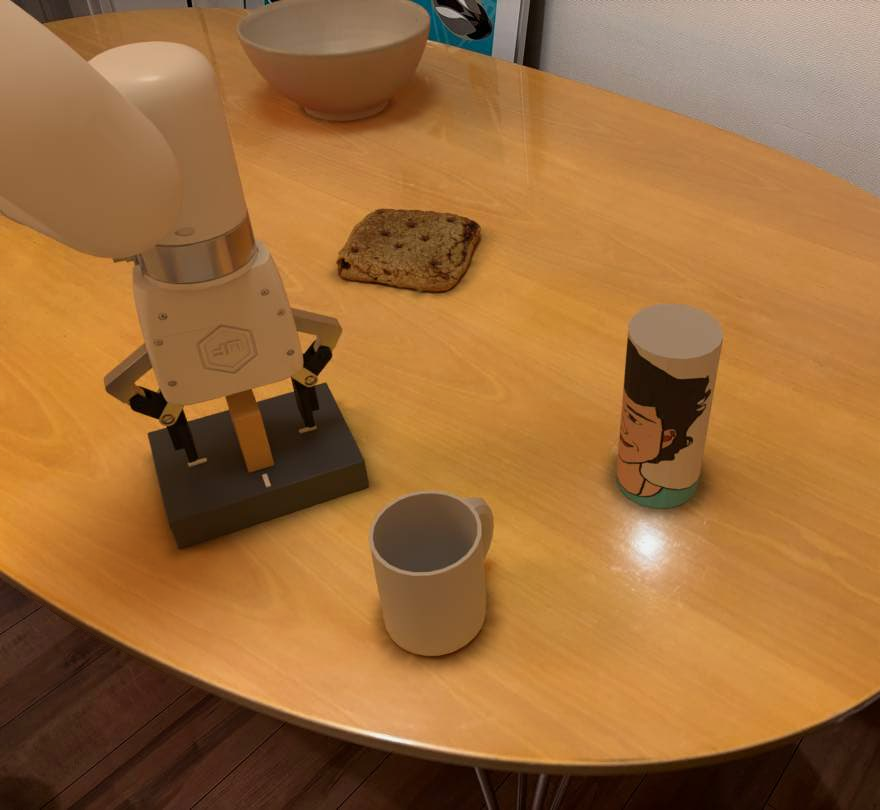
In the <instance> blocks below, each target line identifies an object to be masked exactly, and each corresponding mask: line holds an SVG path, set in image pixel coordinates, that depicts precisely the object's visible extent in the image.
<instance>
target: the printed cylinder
mask: <svg viewBox="0 0 880 810" xmlns="http://www.w3.org/2000/svg"><path fill="white" fill-rule="evenodd" d="M629 320H630V321H629V322H628V328H627V339H626V340H627V341H626V350H625V352H626V353H625V365H624V375H623V376H624V377H623V387H622V388H623V389H622V401H621V413H620V424H619V425H620V426H619V437H618V448H617V449H618V450H617V462H616V473H615V474H616V477H615V480H616V484H617V486H618V488H619V490H620V492H622V494H623V495H624V496H625V497H626V498H627V499H629V500H630V501H632V502H634V503H635V504H637V505H639V506H643V507H647V508H649V509H663V510H665V509H666V510H667V509H671V508H677V507H679V506H681V505H684V504H685V503H687V502H689V501H690V500H691V498H693V496H694V495H695V494H696V492H697V489H698V488H699V487H698V486H699V482H700V476H701V470H702V465H703V457H704V453H705V447H706V443H707V442H706V441H707V436H708V430H709V423H710V417H711V412H712V405H713V400H714V393H715V389H716V383H717V378H718V377H717V376H718V372H719V371H718V370H719V365H720V359H721V353H722V346H723V341H724V331H723V327H722V326H721V323H720V322H719V321H718V320H717V318H715V317H714V316H712V315H711V314H710V313H709V312H707V311H705V310H703V309H700V308H698V307H696V306H691V305H687V304H683V303H668V302H666V303H660V304H659V303H658V304H652V305H650V306H646V307H645V308H642V309H640V310H639V311H638V312H636V313H634V314H633V315H632V317H631V319H629Z"/></svg>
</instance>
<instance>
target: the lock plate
mask: <svg viewBox="0 0 880 810" xmlns="http://www.w3.org/2000/svg"><path fill="white" fill-rule="evenodd" d="M315 389H316V394H317V399H318V404H319V410H316V411H313V412H312V413H313V417H314V422H315V427H312V428H309V427H306V426H305V424H304V421H303V419H302V416H301V414H300V412H299V409H298V406H297V402H296V398H295V394H294V390H293V391H290V392H287V393H283V394H279V395H276V396H271V397H269V398H265V399H262V400H258V401H256V402H257V405H258V407H259V410H260V413H261V417H262V420H263V424H264V428H265V431H266V435H267V439H268V443H269V446H270V450H271V454H272V457H273V461H274V466H271V467H267V468H264V469H261V470H257V471H254V472H251V473H249V472H248V468H247V465H246V462H245V459H244V456H243V453H242V450H241V447H240V444H239V440H238V437H237V434H236V431H235V428H234V425H233V421H232V418H231V415H230V412H229V409H226V410H223V411H220V412H216V413H212V414H210V415H205V416H202V417H199V418H195V419H192V420H187V422H188V424H189V427H190V430H191V433H192V436H193V440H194V443H195V447H196V451H197V455H198V458H199V459H196V461H195V462H192V463H189V460H188V457H187V455H186V452H185V449H184V448H183V449H180V450H176V451H175V449H174V446H173V443H172V440H171V438H170V435H169V432H168V430H167V427H166V426H165V427H163V428H160V429H156V430H152V431H149V432H147V438H148V443H149V447H150V451H151V455H152V460H153V464H154V469H155V473H156V477H157V481H158V485H159V490H160V495H161V498H162V503H163V508H164V511H165V516H166V520H167V524H168V527H169V529H170V532H171V534H172V536H173V540H174V541H175V544H176V546H177V549H178V550H181V549H185V548H188V547H190V546H193V545H196V544H200V543H203V542H206V541H209V540H212V539H215V538H218V537H221V536H224V535H227V534H230V533H233V532H236V531H239V530H243V529H245V528H248V527H252V526H254V525H257V524H261V523H264V522H266V521H269V520H272V519H276V518H279V517H280V516H281V517H282V516H285V515H288V514H290V513H294V512H296V511H299V510H303V509H306V508H308V507H311V506H315V505H318V504H320V503H323V502H327V501H330V500H333V499H335V498H339V497H342V496H345V495H349V494H352V493H354V492H357V491H360V490H364V489H366V488H368V487H369V488H370V483H369V478H368V471H367V466H366V461H365V458H364V455H363V454H362V452H361V450H360V448H359V446H358V444H357V442H356V440H355V438H354V436H353V434H352V432H351V430H350V427H349V425H348V424H347V422H346V419H345V417H344V415H343V413H342V411H341V409H340V408H339V405H338V403H337V401H336V399H335V397H334V395H333V393H332V391H331V389H330V387H329V385H328V383H327V382H326V381H325V382H322V383H317V384H316V385H315Z"/></svg>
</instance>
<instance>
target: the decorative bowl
mask: <svg viewBox="0 0 880 810" xmlns="http://www.w3.org/2000/svg"><path fill="white" fill-rule="evenodd" d="M430 28H431V16H430V13H429V12H428V11H427V9H425V8H424V7H423V6H422V5H420V4H419V3H416V2H414V1H412V0H277V1H273V2H271V3H268V4H267V3H266V4H265V5H262V6H259V7H257V8H255V9H254V10H251V11H250V12H248V13H246V14H245V15H243V17H241V19H239V21H238V22H237V24H236V26H235V34H236V37H237V39H238V41H239V44H240V46H241V48H242V49H243V51H244V53H245V55H246V56H247V58H248V59H249V61H250V63H251V64H252V65H253V66H254V68H255V70H256V71H257V72H258V74H259V75H260V76H261V77H262V78H263V79H264V80H265V81H266V82H267V84H268V85H270V86H271V87H272V88H273V89H274V90H275V91H276V92H278V93H279V94H280V95H282V96H283V97H285V98H286V99H288V100H289V101H291V102H293V103H295V104H297V105H299V106H301V107H303V108H304V111H305V112H306V113H307V114H308V115H310V116H311V117H313V118H316V119H319V120H325V121H333V122H334V121H335V122H342V121H343V122H344V121H355V120H361V119H366V118H369V117H372V116H374V115H376V114H378V113H380V112H382V111H384V109H386V107H387V106H388V105H389V99H392V97H394V96H395V95H397V93H399V92H400V91H401V90H402V89H403V88H404V87H405V86H406V84H407V83H408V82H409V81H410V79H411V78H412V76H413V75H414V73H415V72H416V70H417V68H418V66H419V64H420V62H421V60H422V58H423V56H424V53H425V50H426V46H427V42H428V38H429V34H430Z"/></svg>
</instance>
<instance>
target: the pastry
mask: <svg viewBox="0 0 880 810" xmlns="http://www.w3.org/2000/svg"><path fill="white" fill-rule="evenodd" d="M481 229H482V228H481V226H480V223H478V222H477V221H475V220H473V219H471V218H468V217H467V216H462V215H459V214H457V213H451V212H439V211H435V210H425V211H424V210H421V209H403V208H401V209H396V208H377V209H375V210H374V211H371V212H369V213H368V214H366V215H365V216H364V217H363V219H362V220H361V221H359V222H358V223H357V224H355V225H354V226H353V228H352V230H351V232H350V234H349V236H348V238H347V241H346V242H345V244H344V245H343V247H342V248H341V249H340V250H338V253H337V254H338V258H337V260H336V261H335V262H336V265H337V270H336V271H337V275H338V276H340V277H341V278H343V279H345V280H349V281H353V282H362V283H372V282H374V283H375V284H383V285H389V286H390V287H396V288H399V289H412V290H414V291H417V293H418V294H421V293H423V292H445V291H448V290H450V289H451V288H453V287H454V286H455V285H456V284H457V283H458V282H459V280H460V278H461V276H462V275H464V273H465V272H466V271H467V268H468V266H469V264H470V262H471V257H472V253H473V251H474V249H475V245H476V244H477V243H478V240H479V239H480V237H481Z"/></svg>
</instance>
